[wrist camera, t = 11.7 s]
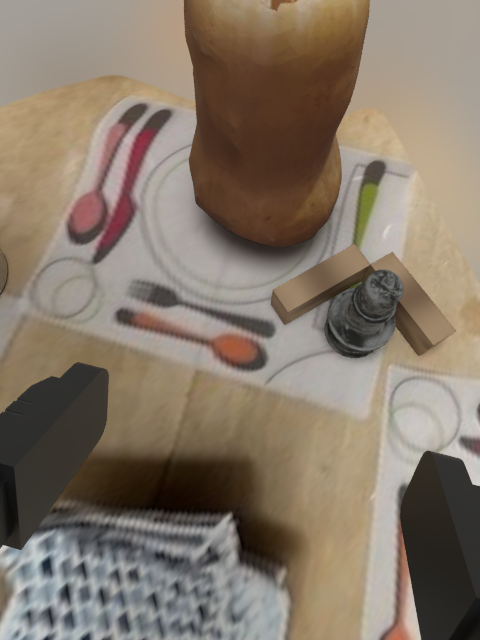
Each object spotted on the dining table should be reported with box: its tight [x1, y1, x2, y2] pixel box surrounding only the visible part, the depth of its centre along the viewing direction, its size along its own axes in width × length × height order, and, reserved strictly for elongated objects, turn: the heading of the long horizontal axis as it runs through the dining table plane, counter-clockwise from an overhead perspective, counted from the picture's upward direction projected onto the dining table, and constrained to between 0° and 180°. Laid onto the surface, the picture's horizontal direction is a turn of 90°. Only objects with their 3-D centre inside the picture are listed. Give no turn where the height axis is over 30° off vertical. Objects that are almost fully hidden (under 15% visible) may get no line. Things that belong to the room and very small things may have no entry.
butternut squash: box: [184, 0, 370, 247], centre depth 35 cm, size 14×13×25 cm
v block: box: [271, 244, 456, 356], centre depth 41 cm, size 8×16×4 cm, turn 76°
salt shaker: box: [325, 270, 404, 358], centre depth 36 cm, size 6×6×12 cm
